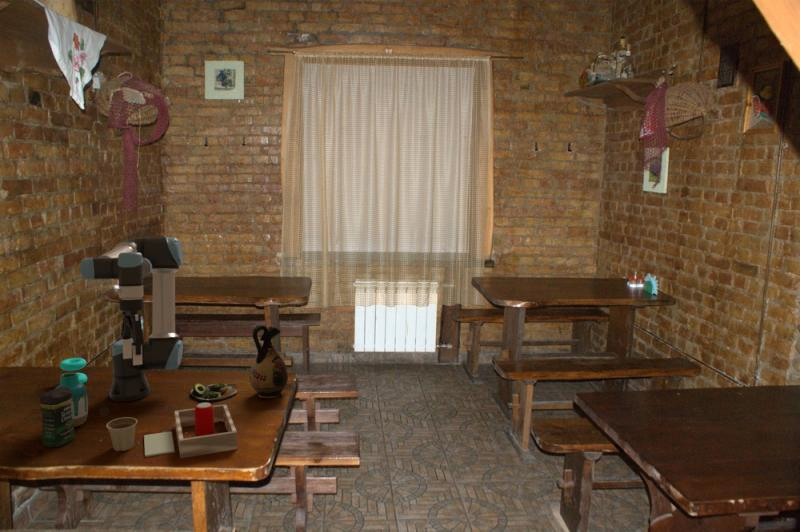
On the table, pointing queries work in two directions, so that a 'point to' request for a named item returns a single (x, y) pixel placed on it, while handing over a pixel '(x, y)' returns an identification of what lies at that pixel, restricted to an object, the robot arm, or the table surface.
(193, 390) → the salad plate
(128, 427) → the flower pot
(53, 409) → the coffee jar
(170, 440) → the mat
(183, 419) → the frame
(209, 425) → the beverage can
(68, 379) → the vase
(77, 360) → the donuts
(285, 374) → the ceramic jug
